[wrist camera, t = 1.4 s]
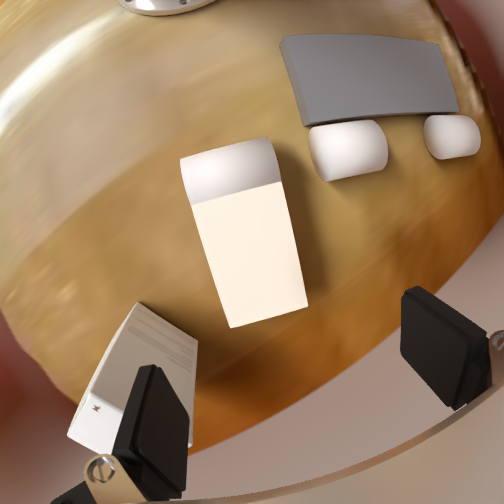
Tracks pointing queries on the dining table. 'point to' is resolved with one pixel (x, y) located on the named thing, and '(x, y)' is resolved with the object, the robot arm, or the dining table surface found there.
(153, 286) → the dining table surface
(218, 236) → the cream hinge flap
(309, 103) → the fixed leaf
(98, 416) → the supplement box
